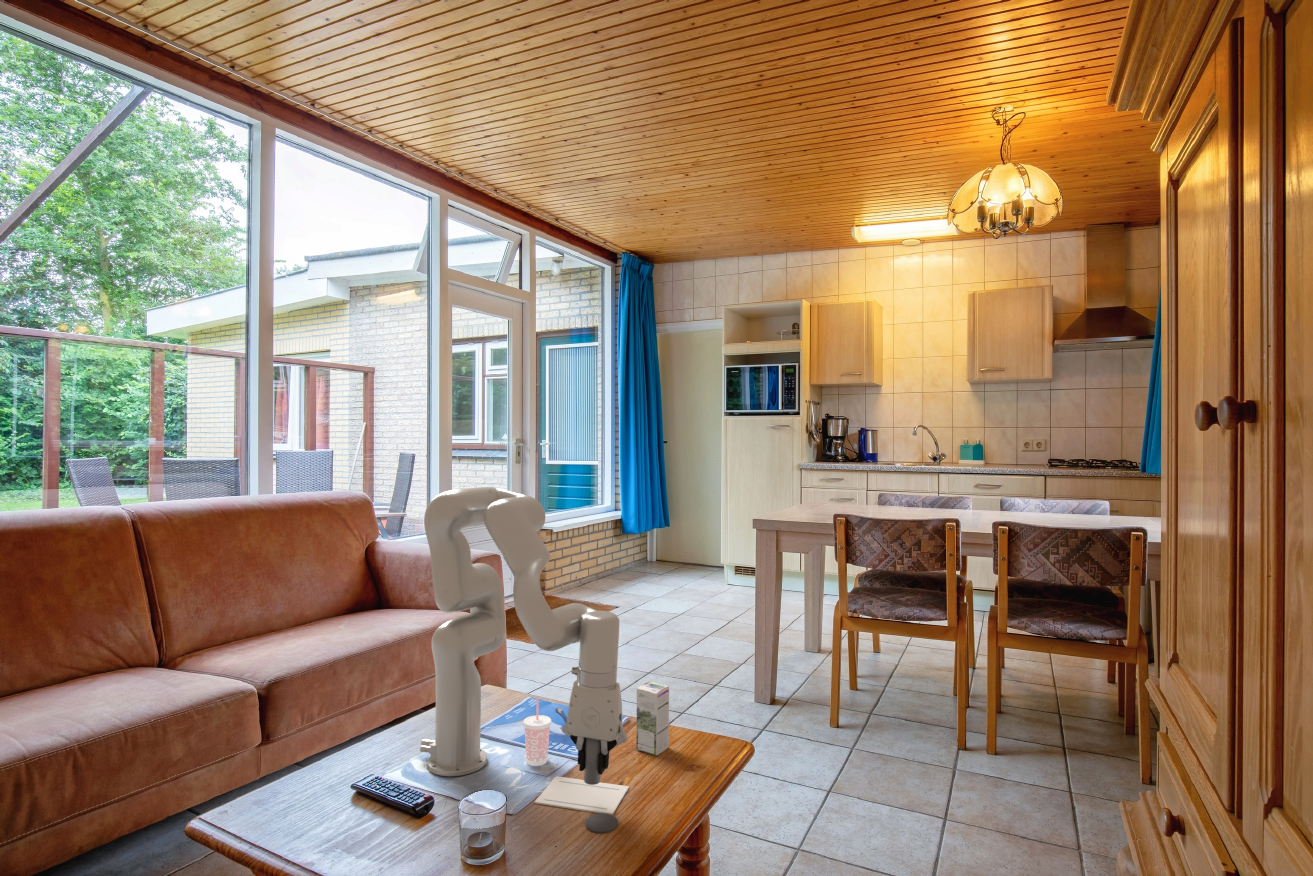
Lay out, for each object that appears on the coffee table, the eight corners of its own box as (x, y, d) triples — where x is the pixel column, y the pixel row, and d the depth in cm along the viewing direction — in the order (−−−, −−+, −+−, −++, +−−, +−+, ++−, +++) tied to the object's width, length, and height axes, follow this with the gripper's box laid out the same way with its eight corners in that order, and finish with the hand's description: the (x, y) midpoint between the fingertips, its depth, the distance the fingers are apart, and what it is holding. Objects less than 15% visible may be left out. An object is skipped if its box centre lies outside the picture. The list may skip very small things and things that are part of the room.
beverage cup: (517, 765, 156) (518, 701, 156) (530, 753, 161) (531, 691, 161) (543, 769, 154) (544, 704, 154) (555, 757, 160) (556, 694, 160)
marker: (580, 783, 138) (583, 727, 138) (586, 775, 141) (589, 720, 141) (597, 786, 137) (600, 729, 137) (603, 778, 141) (606, 722, 140)
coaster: (580, 830, 130) (580, 828, 130) (591, 813, 136) (591, 811, 136) (612, 835, 129) (612, 833, 129) (621, 818, 135) (621, 816, 135)
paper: (534, 803, 139) (534, 801, 139) (556, 777, 150) (556, 776, 150) (612, 815, 136) (612, 813, 136) (629, 788, 146) (629, 786, 146)
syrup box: (669, 747, 166) (670, 685, 166) (655, 757, 161) (656, 692, 161) (649, 741, 169) (649, 680, 169) (634, 750, 164) (635, 687, 164)
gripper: (550, 677, 137) (546, 771, 138) (632, 689, 133) (627, 786, 134) (565, 664, 145) (560, 754, 145) (643, 675, 141) (638, 768, 141)
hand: (592, 768), depth 139 cm, fingers closed on marker, 3 cm apart
